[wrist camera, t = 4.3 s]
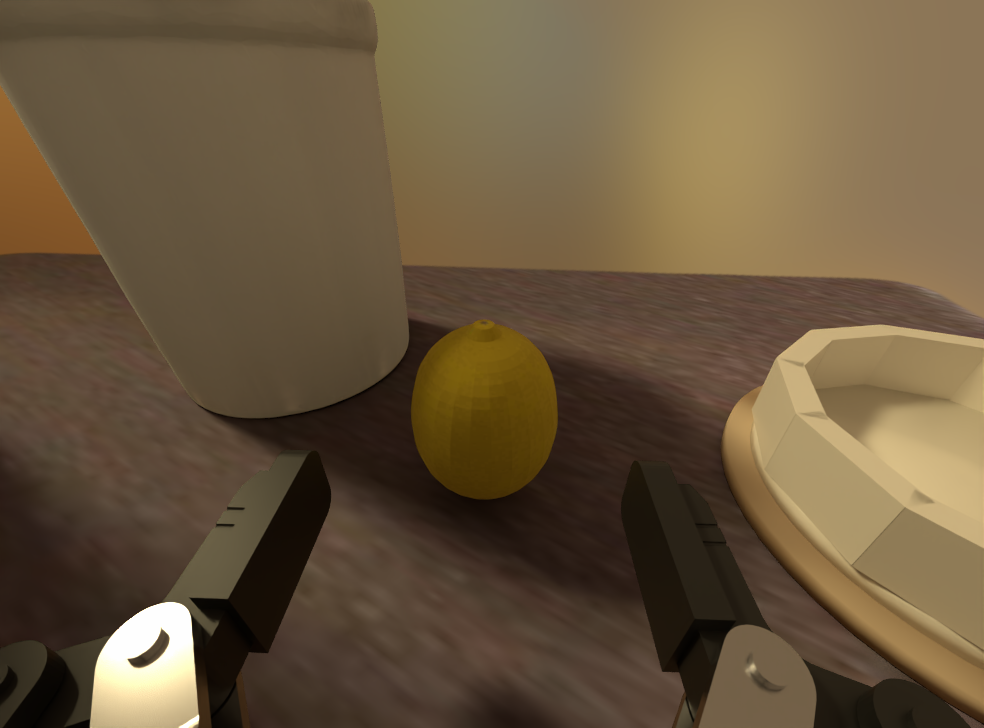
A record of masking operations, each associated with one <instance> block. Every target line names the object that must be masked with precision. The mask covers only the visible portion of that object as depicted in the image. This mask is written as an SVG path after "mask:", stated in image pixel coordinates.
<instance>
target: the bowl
mask: <svg viewBox="0 0 984 728" xmlns="http://www.w3.org/2000/svg"><path fill="white" fill-rule="evenodd" d="M752 414H753V418H754V420H753V422H752V425H751V432H750V445H751V452H752V455H753V459H754V462H755V466H756V468H757V470H758V472H759V474H760V476H761V479H762V481H763V483H764V485H765V486H766V488H767V489H768V491H769V493H770V494H771V496H772V497H773V499H774V500H775V502H776V504H777V505H778V506H779V507H780V509H781V510H782V511H783V512H784V514H785V515H786V516H787V518H788V519H789V520H790V521H791V523H792V524H793V525H794V526H795V527H796V528H797V530H798V531H799V532H800V533H801V534H802V535H803V536H804V537H805V538H806V539H807V540H808V541H809V542H810V543H811V544H812V546H813V547H814V548H815V549H816V550H817V551H818V552H819V553H821V554H822V555H823V556H824V557H825V558H826V559H827V560H828V561H829V562H830V563H831V564H832V565H834V566H835V567H836V568H837V569H838V570H839V571H840V572H841V573H842V574H843V575H844V576H846V577H847V578H848V579H849V580H851V581H852V582H853V583H854V584H856V585H857V586H858V587H859V588H860V589H862V590H863V591H864V592H865V593H867V594H868V595H869V596H870V597H872V598H873V599H874V600H875V601H877V602H878V603H879V604H881V605H882V606H883V607H885V608H886V609H888V610H889V611H890V612H892V613H893V614H895V615H896V616H897V617H899V618H900V619H902V620H903V621H905V622H906V623H907V624H909V625H910V626H912V627H913V628H914V629H916V630H917V631H919V632H920V633H922V634H923V635H925V636H927V637H928V638H930V639H931V640H933V641H935V642H936V643H938V644H939V645H941V646H943V647H944V648H946V649H947V650H949V651H951V652H952V653H954V654H955V655H957V656H959V657H960V658H962V659H963V660H965V661H967V662H969V663H971V664H973V665H974V666H976V667H978V668H980V669H982V670H984V339H977V338H970V337H963V336H957V335H950V334H943V333H936V332H929V331H922V330H916V329H909V328H902V327H895V326H888V325H870V326H857V327H844V328H831V329H818V330H810V331H809V332H808V333H806V334H805V335H804V336H803V337H801V338H800V339H799V340H798V341H796V342H795V343H794V344H793V345H792V346H790V347H789V348H788V349H787V350H785V351H784V352H783V353H782V354H780V355H779V356H778V357H777V358H776V360H775V362H774V364H773V366H772V368H771V370H770V372H769V374H768V376H767V379H766V381H765V383H764V385H763V387H762V389H761V391H760V393H759V395H758V397H757V399H756V402H755V404H754V406H753V408H752Z"/></svg>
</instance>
